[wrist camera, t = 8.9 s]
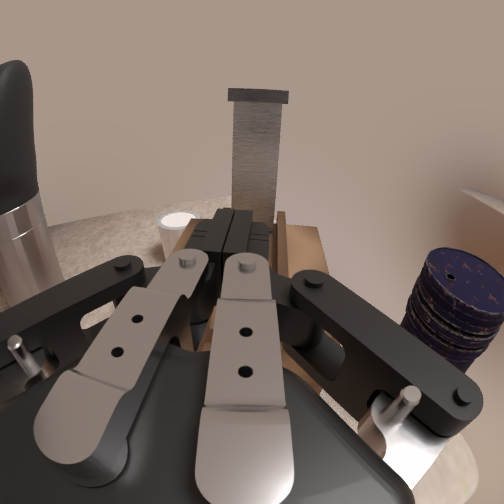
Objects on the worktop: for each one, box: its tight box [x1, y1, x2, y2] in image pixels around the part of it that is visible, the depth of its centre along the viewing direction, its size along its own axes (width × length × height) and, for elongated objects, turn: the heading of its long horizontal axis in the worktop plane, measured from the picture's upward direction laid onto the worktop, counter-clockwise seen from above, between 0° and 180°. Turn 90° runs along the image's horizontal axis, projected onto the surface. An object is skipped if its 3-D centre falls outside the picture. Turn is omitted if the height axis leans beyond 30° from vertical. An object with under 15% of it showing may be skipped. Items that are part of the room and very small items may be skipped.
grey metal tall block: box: [228, 88, 289, 231], centre depth 27 cm, size 5×4×14 cm
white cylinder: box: [157, 211, 201, 259], centre depth 45 cm, size 7×7×7 cm
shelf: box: [170, 208, 340, 395], centre depth 28 cm, size 14×16×14 cm
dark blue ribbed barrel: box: [400, 247, 504, 374], centre depth 23 cm, size 10×10×15 cm
